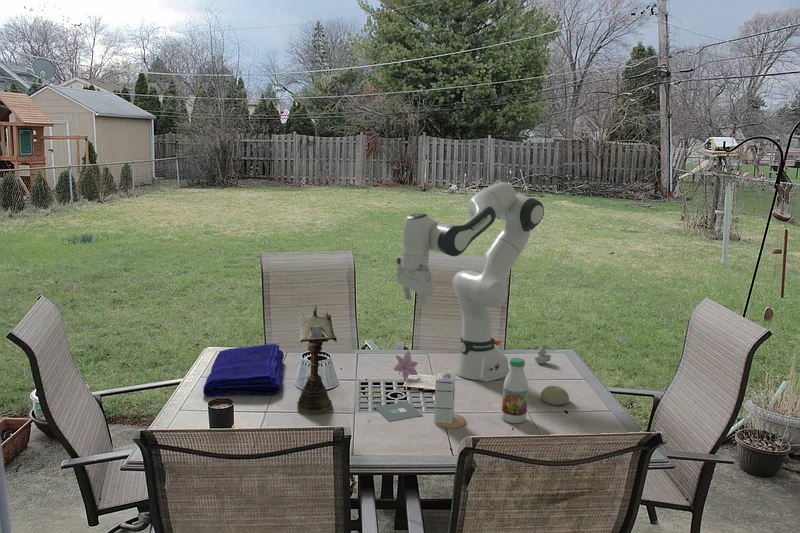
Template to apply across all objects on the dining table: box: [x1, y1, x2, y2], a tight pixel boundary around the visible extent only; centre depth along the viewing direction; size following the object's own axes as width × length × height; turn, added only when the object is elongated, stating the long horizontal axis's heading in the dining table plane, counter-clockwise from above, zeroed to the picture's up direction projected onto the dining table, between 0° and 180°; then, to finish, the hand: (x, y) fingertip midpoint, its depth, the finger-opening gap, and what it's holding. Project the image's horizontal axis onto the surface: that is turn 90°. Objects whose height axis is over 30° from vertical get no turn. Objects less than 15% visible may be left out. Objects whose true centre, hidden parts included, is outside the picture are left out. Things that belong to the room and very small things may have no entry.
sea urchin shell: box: [540, 385, 570, 406], centre depth 221 cm, size 9×8×8 cm
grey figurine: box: [534, 344, 552, 365], centre depth 258 cm, size 5×7×8 cm
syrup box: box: [434, 372, 456, 424], centre depth 201 cm, size 6×6×14 cm
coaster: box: [433, 413, 467, 429], centre depth 202 cm, size 10×10×1 cm
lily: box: [393, 350, 419, 381], centre depth 240 cm, size 11×11×9 cm
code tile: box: [374, 400, 424, 422], centre depth 209 cm, size 12×12×1 cm
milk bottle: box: [501, 357, 529, 425], centre depth 204 cm, size 8×8×20 cm
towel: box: [202, 343, 285, 398], centre depth 233 cm, size 26×36×9 cm
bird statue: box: [296, 303, 338, 416], centre depth 204 cm, size 17×13×35 cm
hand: (413, 302), depth 217 cm, fingers open, 8 cm apart
